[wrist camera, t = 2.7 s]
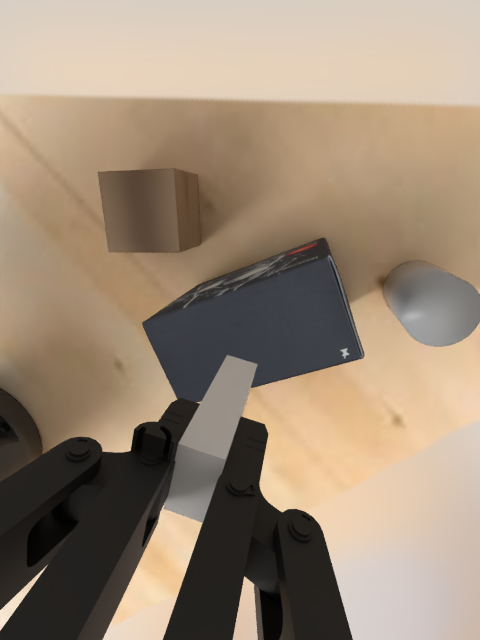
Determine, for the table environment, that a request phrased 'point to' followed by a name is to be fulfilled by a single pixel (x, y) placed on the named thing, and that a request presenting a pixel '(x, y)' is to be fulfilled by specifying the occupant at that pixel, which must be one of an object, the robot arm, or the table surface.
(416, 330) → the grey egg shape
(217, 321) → the small box
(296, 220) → the table surface
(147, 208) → the walnut cube
